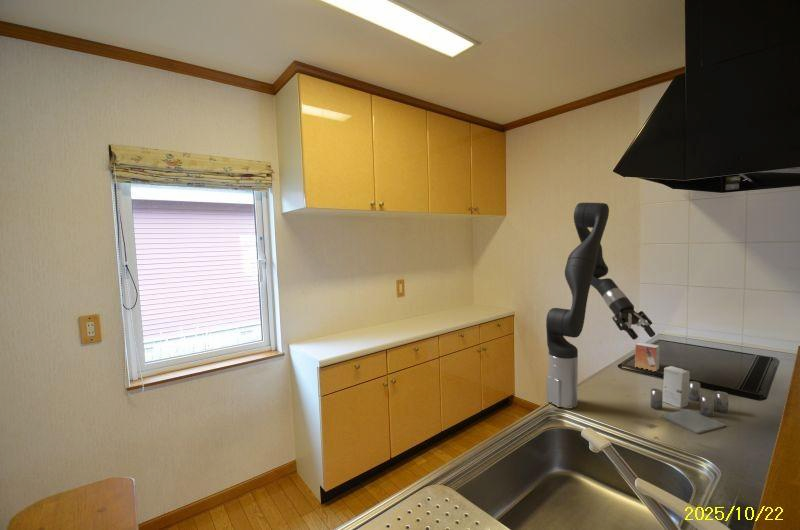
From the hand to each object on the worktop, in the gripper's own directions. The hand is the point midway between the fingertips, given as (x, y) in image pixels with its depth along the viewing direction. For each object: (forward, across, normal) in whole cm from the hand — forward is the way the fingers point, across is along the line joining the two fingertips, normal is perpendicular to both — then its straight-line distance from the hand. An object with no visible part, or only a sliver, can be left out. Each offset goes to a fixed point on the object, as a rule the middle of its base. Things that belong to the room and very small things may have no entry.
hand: (644, 337), depth 135 cm
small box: (+2, +24, +27) cm, 36 cm away
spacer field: (+26, 0, +3) cm, 26 cm away
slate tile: (+30, -8, -1) cm, 31 cm away
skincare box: (+23, 0, +6) cm, 24 cm away
